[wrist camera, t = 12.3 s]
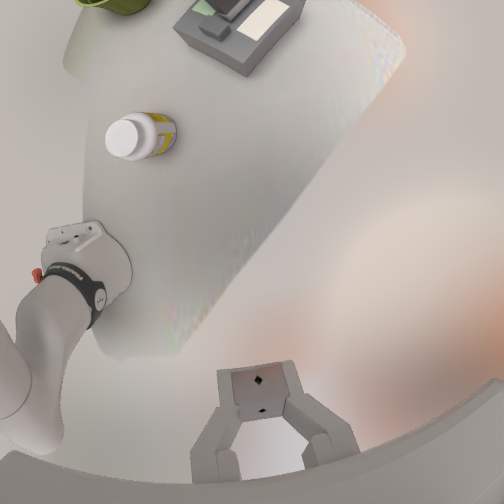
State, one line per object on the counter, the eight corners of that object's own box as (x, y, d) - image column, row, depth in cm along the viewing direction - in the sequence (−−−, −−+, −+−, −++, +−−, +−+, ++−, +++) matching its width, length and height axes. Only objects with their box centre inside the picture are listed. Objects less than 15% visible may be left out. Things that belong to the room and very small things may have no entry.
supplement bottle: (136, 120, 37) (94, 121, 26) (173, 109, 37) (140, 103, 25) (144, 158, 40) (104, 171, 29) (181, 148, 40) (150, 157, 28)
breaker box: (299, 18, 30) (311, -14, 19) (246, 77, 35) (241, 58, 24) (241, -12, 27) (236, -47, 17) (189, 45, 32) (166, 21, 22)
